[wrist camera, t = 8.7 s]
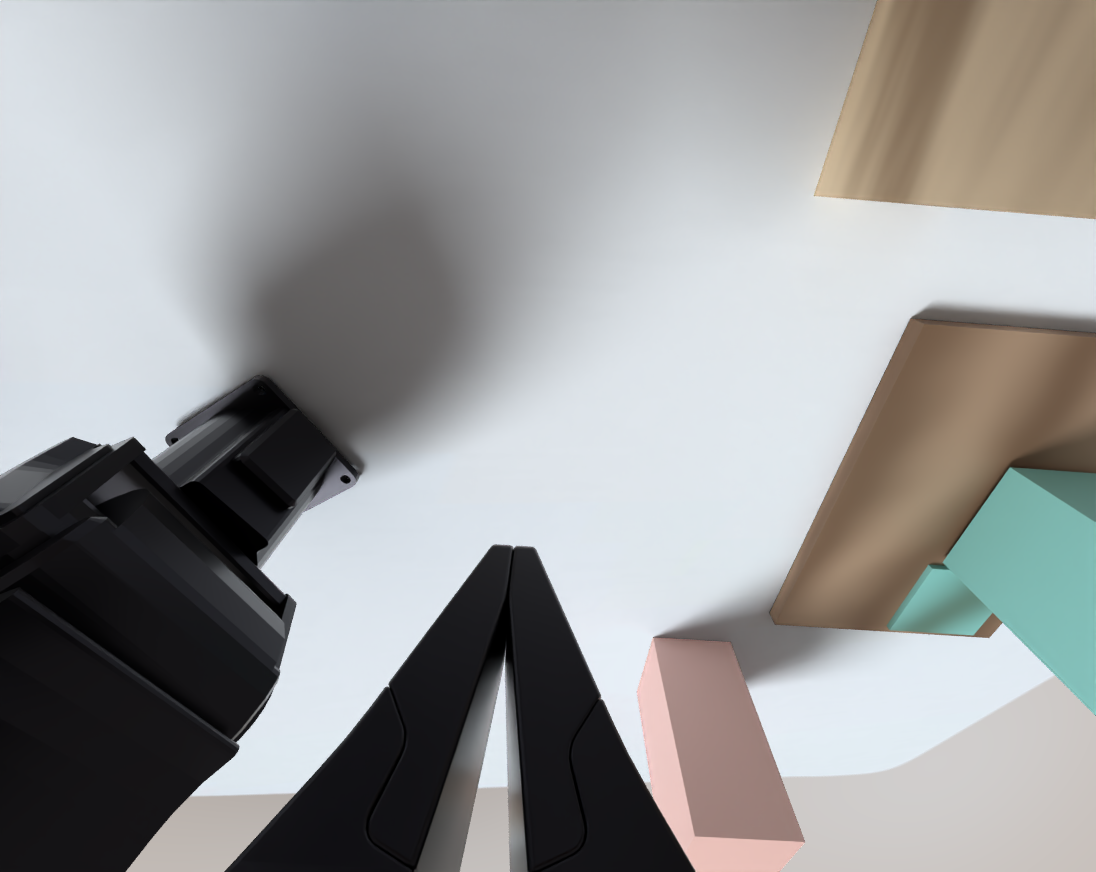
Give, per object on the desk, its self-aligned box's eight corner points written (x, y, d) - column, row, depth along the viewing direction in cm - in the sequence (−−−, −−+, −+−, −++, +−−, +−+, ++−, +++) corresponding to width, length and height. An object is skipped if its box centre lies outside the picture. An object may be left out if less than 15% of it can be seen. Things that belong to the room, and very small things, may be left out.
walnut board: (769, 613, 27) (777, 628, 26) (910, 318, 18) (930, 326, 17) (978, 626, 28) (993, 642, 27) (1217, 342, 19) (1253, 351, 18)
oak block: (813, 195, 16) (1107, 218, 8) (888, -35, 13) (1514, -431, 5) (949, 207, 16) (1391, 242, 8) (1054, -19, 13) (1965, -375, 5)
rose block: (636, 691, 32) (667, 885, 23) (653, 637, 29) (694, 836, 20) (707, 695, 32) (763, 890, 23) (730, 642, 29) (805, 842, 20)
